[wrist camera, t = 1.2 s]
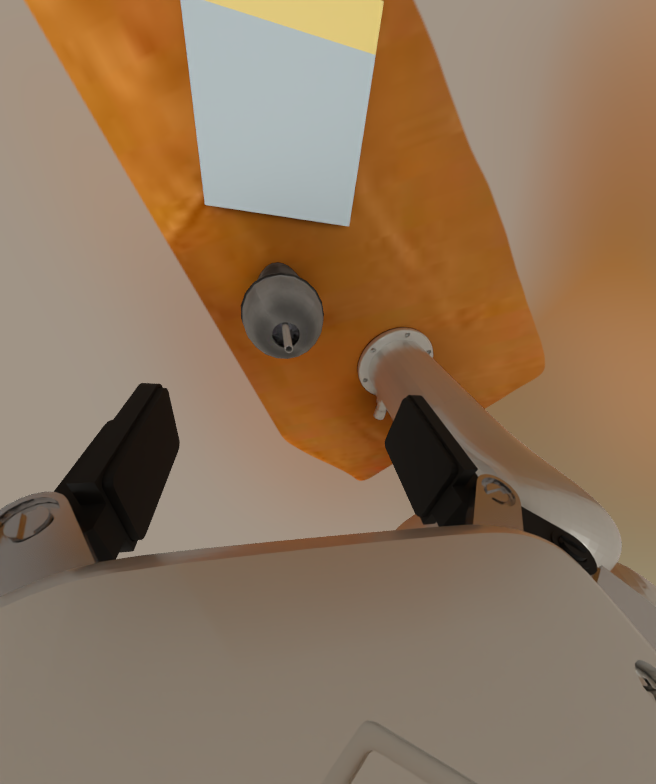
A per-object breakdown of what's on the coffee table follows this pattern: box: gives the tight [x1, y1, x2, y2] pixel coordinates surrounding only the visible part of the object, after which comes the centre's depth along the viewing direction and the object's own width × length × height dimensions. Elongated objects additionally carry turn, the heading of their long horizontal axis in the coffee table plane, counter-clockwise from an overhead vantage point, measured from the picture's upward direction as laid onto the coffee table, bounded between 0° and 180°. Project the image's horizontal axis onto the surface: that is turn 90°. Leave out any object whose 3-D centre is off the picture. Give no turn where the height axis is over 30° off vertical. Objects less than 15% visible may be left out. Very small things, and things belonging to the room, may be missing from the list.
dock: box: [181, 0, 384, 226], centre depth 22 cm, size 14×14×3 cm
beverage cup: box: [241, 263, 324, 359], centre depth 24 cm, size 7×7×20 cm
